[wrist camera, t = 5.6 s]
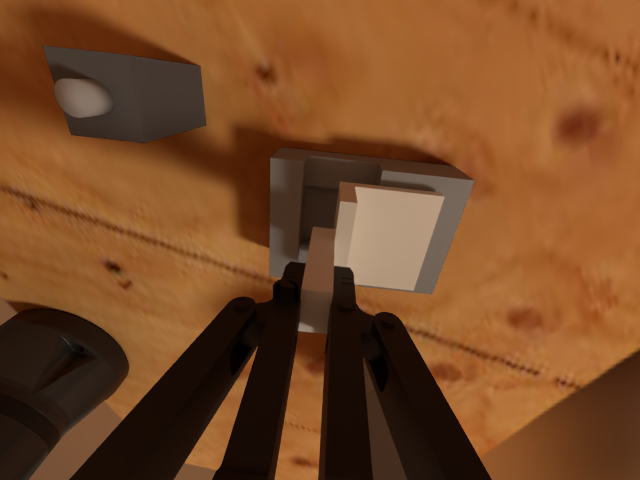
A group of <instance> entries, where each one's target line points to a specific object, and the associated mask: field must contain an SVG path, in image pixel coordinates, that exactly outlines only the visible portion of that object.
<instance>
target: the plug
mask: <svg viewBox="0 0 640 480" xmlns="http://www.w3.org/2000/svg"><path fill="white" fill-rule="evenodd" d="M42 46H43V45H42ZM43 49H44V52H45V55H46V58H47V62H48V65H49V68H50V71H51V74H52V77H53V80H54V83H55V85H54V96H55V99H56V101H57V103H58V104H59V106H60V107H61V108H62V109H63V111H64V114H65V117H66V120H67V124H68V127H69V130H70V133H71V135H76V136H85V137H94V138H103V139H112V140H121V141H130V142H139V143H147V142H150V141H154V140H157V139H161V138H164V137H168V136H171V135H175V134H178V133H181V132H185V131H188V130H192V129H195V128H199V127H202V126H206V119H205V108H204V98H203V88H202V77H201V67H200V66H197V65H190V64H184V63H177V62H171V61H164V60H158V59H151V58H145V57H138V56H132V55H125V54H116V53H107V52H98V51H88V50H79V49H70V48H61V47H52V46H43Z"/></svg>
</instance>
